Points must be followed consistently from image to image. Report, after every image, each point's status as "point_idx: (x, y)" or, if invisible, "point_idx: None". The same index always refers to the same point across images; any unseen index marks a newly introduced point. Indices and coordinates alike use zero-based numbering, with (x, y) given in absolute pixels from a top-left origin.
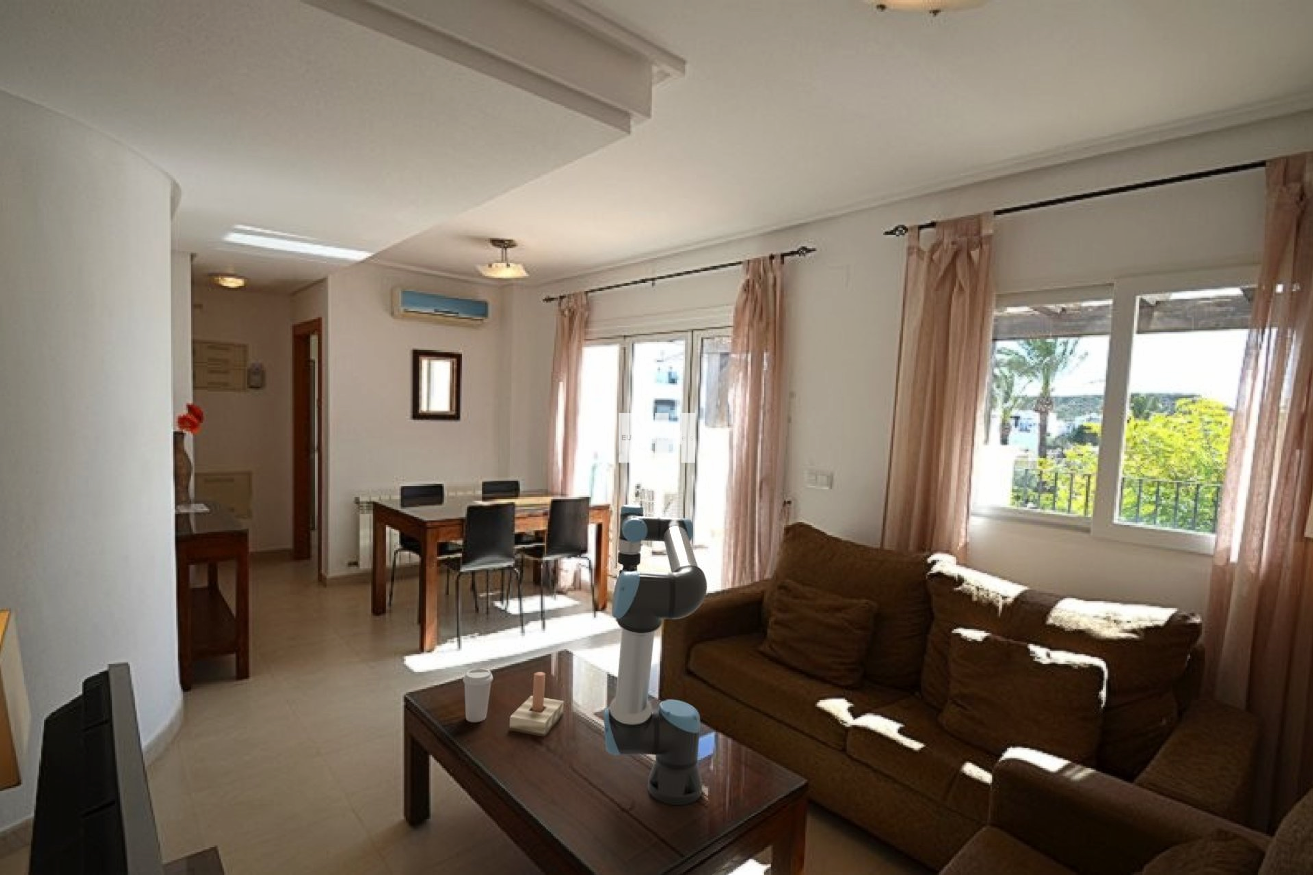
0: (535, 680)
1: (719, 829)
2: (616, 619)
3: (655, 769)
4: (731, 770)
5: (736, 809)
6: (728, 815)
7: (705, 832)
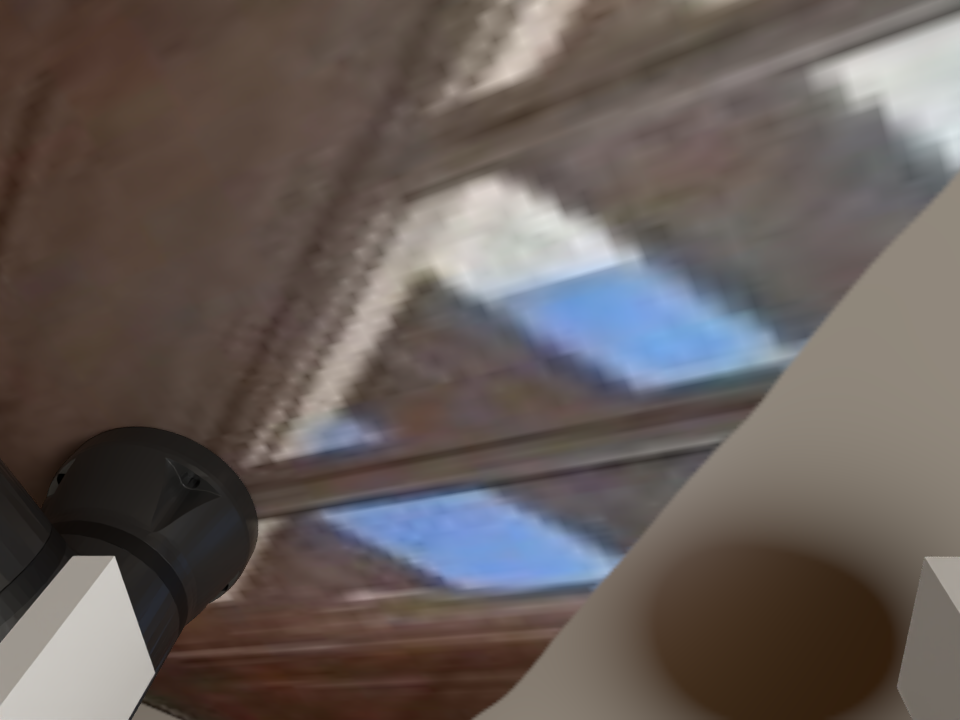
0: None
1: None
2: (60, 590)
3: (48, 508)
4: (374, 651)
5: (171, 677)
6: None
7: None
